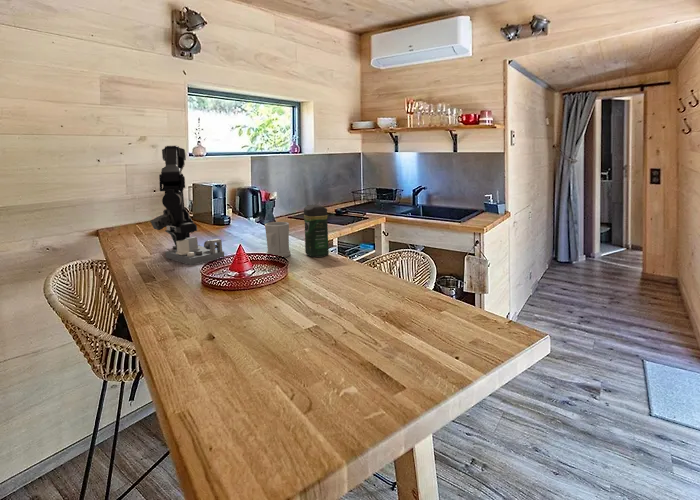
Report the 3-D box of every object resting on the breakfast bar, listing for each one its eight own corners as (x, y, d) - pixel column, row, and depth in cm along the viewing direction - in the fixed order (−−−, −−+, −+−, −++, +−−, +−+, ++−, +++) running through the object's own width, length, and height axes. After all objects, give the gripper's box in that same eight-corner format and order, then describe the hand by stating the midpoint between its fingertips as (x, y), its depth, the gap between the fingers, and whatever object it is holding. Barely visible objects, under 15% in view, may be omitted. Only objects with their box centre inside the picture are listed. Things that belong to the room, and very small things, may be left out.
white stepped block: (184, 250, 173) (183, 237, 172) (194, 248, 175) (193, 236, 174) (190, 252, 170) (189, 239, 169) (199, 250, 173) (198, 237, 172)
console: (165, 257, 174) (163, 239, 172) (198, 251, 183) (197, 233, 182) (190, 265, 162) (188, 245, 160) (224, 257, 172) (223, 239, 170)
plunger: (204, 249, 172) (203, 241, 172) (211, 248, 175) (210, 239, 174) (212, 251, 169) (211, 243, 168) (220, 250, 171) (219, 241, 170)
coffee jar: (331, 256, 170) (330, 205, 166) (311, 258, 167) (308, 207, 163) (322, 251, 179) (321, 202, 175) (303, 253, 176) (300, 204, 172)
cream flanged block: (175, 253, 168) (174, 240, 167) (185, 251, 171) (184, 238, 170) (181, 255, 165) (180, 241, 164) (191, 253, 168) (190, 240, 167)
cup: (293, 258, 169) (291, 225, 166) (268, 260, 166) (266, 227, 164) (288, 252, 179) (287, 221, 176) (264, 254, 176) (262, 222, 173)
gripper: (140, 207, 167) (145, 249, 170) (165, 210, 154) (170, 256, 158) (170, 203, 175) (174, 244, 178) (195, 207, 162) (200, 251, 166)
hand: (178, 249), depth 170 cm, fingers closed
